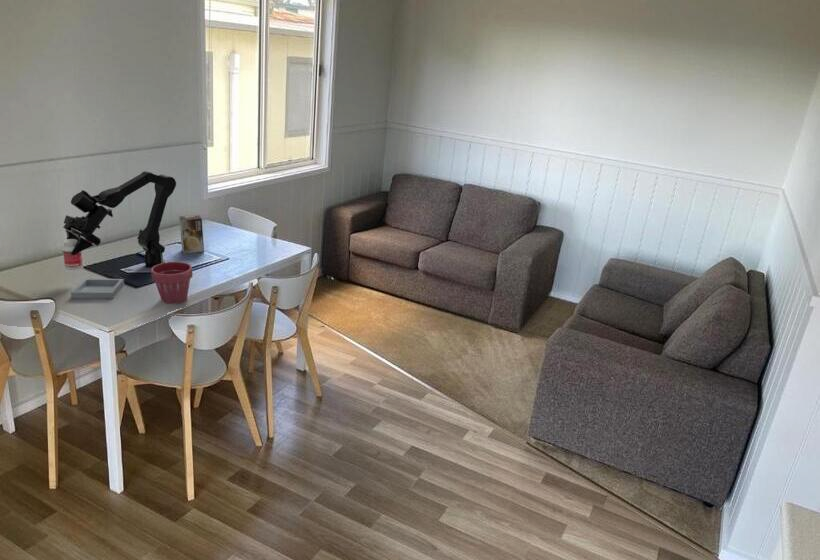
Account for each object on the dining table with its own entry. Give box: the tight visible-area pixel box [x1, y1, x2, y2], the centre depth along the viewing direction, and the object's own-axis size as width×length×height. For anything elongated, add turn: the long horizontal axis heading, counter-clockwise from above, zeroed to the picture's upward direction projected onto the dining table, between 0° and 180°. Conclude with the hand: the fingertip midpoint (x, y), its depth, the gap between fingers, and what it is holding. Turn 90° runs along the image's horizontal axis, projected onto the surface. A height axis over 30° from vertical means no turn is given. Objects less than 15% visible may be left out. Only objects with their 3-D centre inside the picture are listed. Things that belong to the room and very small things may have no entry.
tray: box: [70, 278, 125, 300], centre depth 236 cm, size 14×14×2 cm
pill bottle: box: [62, 238, 84, 271], centre depth 237 cm, size 6×6×11 cm
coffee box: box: [178, 215, 205, 255], centre depth 284 cm, size 9×6×16 cm
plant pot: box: [150, 261, 193, 305], centre depth 231 cm, size 14×14×13 cm
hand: (68, 252), depth 236 cm, fingers closed on pill bottle, 6 cm apart
